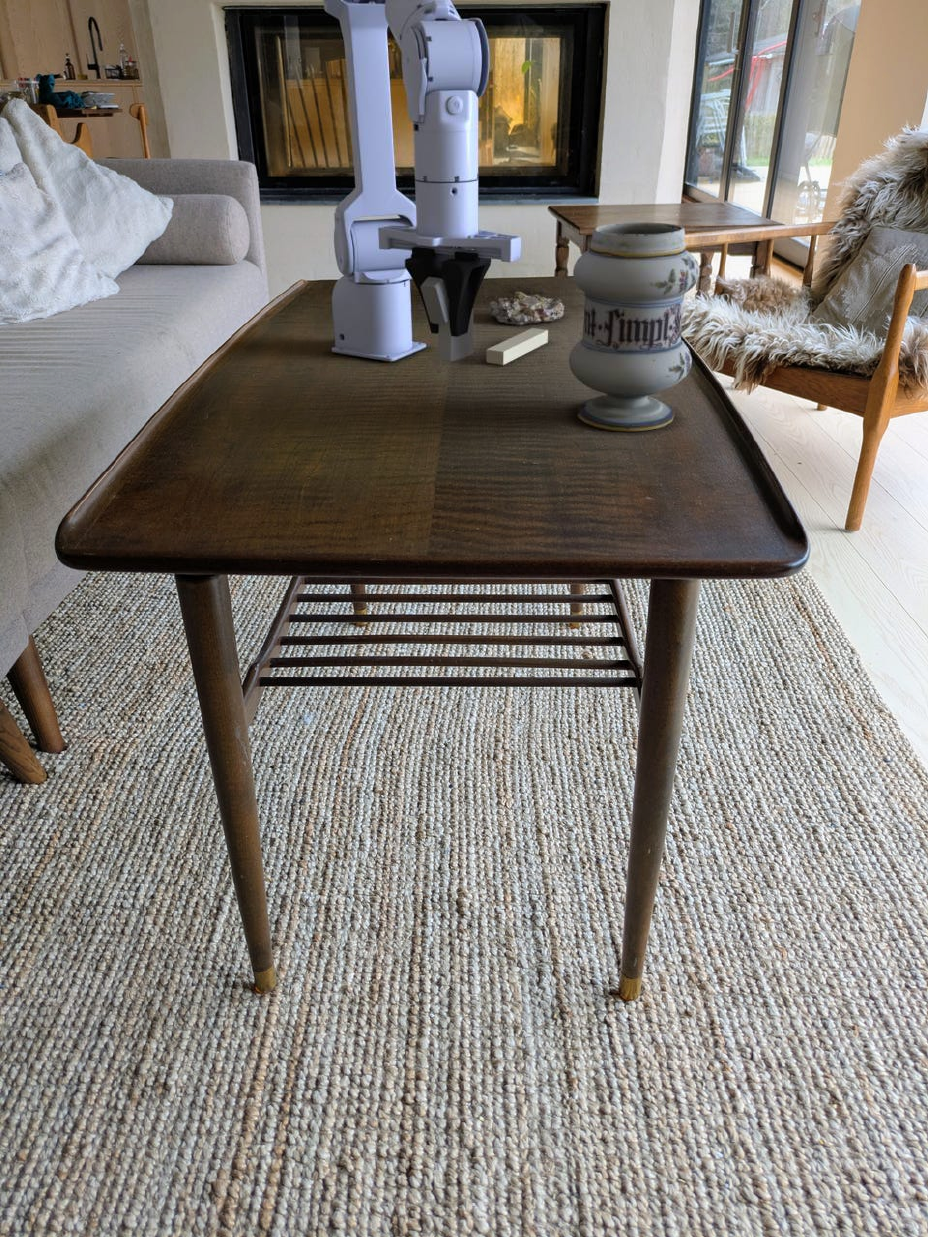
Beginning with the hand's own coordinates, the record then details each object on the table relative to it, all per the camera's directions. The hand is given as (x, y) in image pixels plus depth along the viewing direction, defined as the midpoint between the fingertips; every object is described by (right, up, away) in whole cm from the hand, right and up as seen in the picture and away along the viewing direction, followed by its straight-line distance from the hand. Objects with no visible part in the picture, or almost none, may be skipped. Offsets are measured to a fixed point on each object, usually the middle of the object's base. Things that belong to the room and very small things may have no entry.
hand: (449, 332), depth 89 cm
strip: (+8, +6, +25) cm, 27 cm away
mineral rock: (+11, +14, +40) cm, 44 cm away
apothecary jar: (+18, -7, +4) cm, 20 cm away
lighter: (0, -2, +1) cm, 3 cm away
